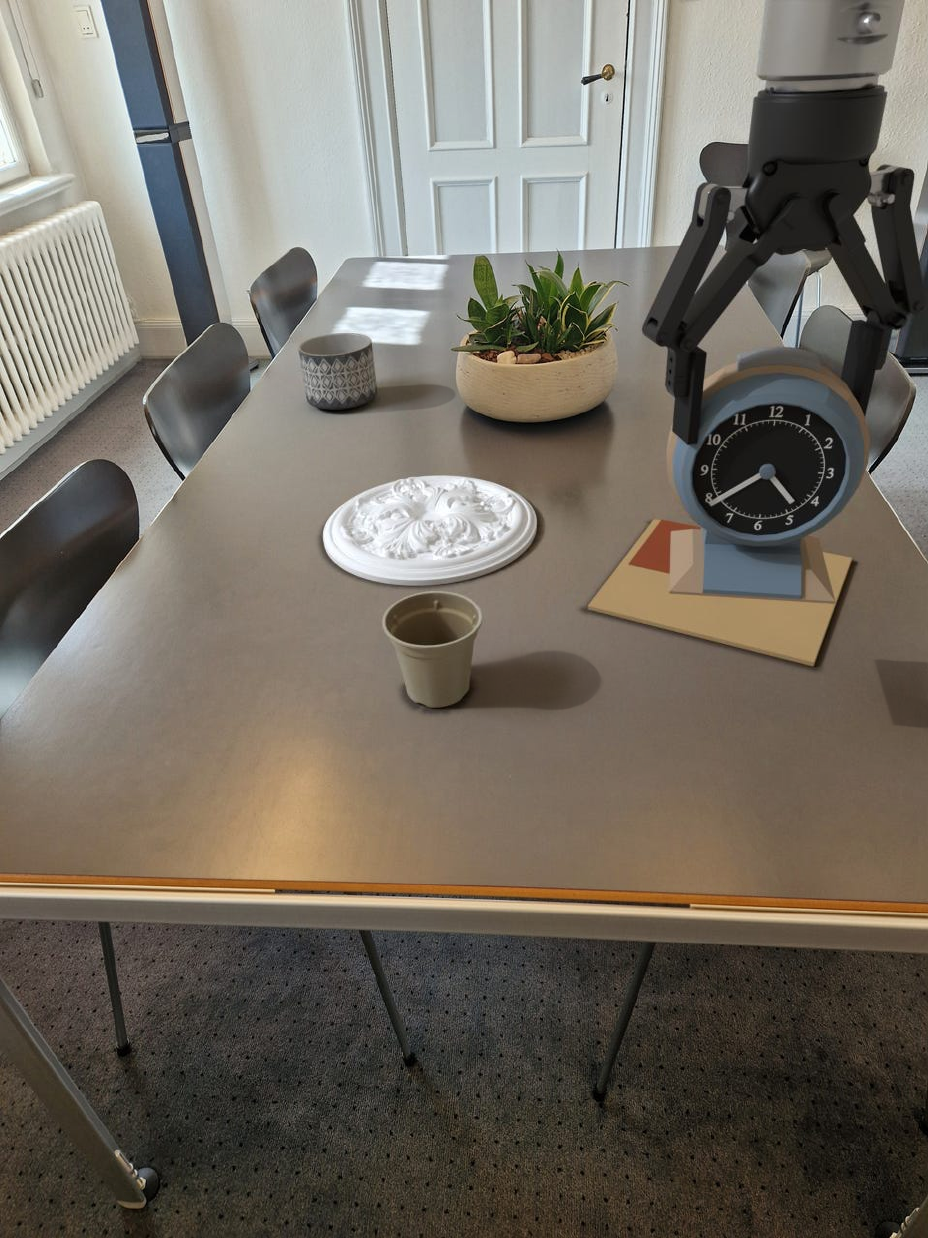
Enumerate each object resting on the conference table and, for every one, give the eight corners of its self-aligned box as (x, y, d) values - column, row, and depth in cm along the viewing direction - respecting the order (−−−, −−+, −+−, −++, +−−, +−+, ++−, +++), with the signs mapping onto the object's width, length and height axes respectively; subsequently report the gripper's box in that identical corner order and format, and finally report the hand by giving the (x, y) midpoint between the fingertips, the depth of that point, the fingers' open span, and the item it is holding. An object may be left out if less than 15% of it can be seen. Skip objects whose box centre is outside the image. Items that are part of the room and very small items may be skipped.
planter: (374, 413, 147) (366, 353, 141) (301, 416, 148) (291, 356, 142) (381, 388, 157) (375, 331, 151) (314, 391, 158) (305, 334, 152)
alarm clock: (656, 592, 67) (674, 372, 57) (658, 532, 75) (675, 329, 65) (849, 604, 64) (904, 374, 54) (831, 541, 72) (876, 329, 62)
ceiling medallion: (280, 559, 107) (276, 537, 105) (391, 470, 127) (389, 450, 126) (480, 605, 96) (479, 581, 95) (567, 499, 117) (568, 478, 115)
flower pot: (446, 648, 90) (440, 579, 85) (505, 689, 84) (503, 617, 79) (373, 687, 85) (362, 616, 80) (430, 734, 79) (422, 660, 74)
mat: (851, 562, 99) (852, 556, 99) (813, 666, 84) (814, 661, 84) (653, 522, 110) (654, 517, 109) (587, 609, 94) (587, 604, 94)
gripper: (650, 102, 46) (628, 468, 58) (1051, 69, 49) (951, 421, 61) (602, 96, 52) (592, 428, 64) (962, 66, 55) (887, 387, 67)
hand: (768, 425), depth 63 cm, fingers closed on alarm clock, 12 cm apart
